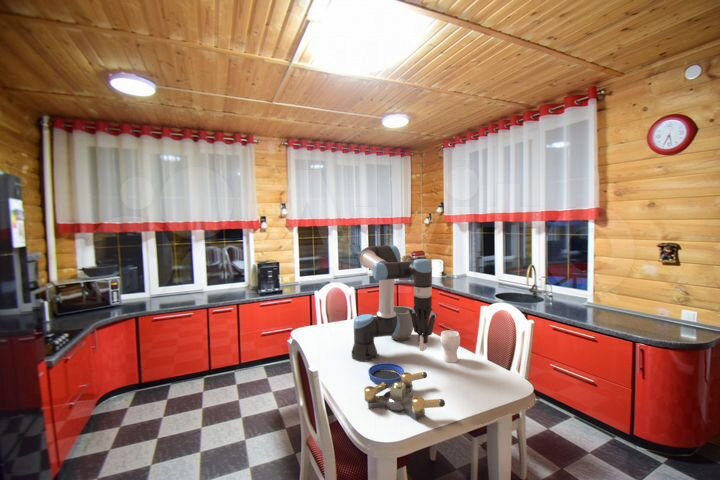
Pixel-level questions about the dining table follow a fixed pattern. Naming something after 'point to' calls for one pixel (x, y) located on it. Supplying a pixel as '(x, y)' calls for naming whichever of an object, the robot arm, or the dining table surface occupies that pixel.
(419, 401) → the brass lever handle
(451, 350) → the cup
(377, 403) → the tribrach
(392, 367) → the bowl
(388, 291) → the robot arm
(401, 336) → the planter
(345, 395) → the dining table surface
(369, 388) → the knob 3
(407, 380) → the brass tap handle
